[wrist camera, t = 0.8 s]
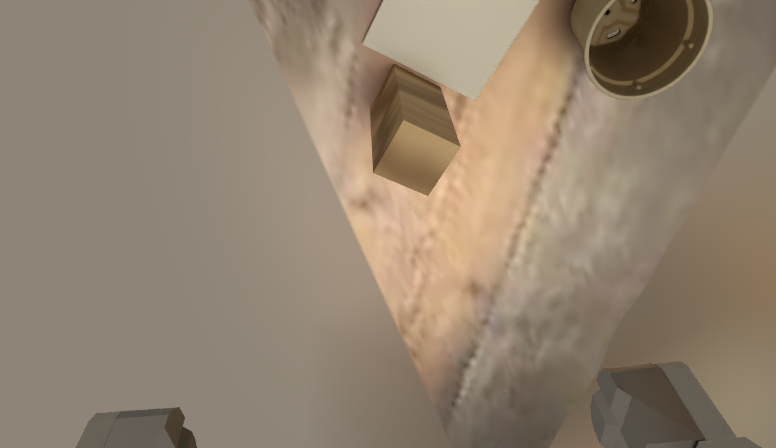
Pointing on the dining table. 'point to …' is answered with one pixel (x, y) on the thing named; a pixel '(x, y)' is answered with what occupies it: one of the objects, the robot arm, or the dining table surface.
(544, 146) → the dining table surface
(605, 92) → the flower pot
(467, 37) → the white board
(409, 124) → the oak block
